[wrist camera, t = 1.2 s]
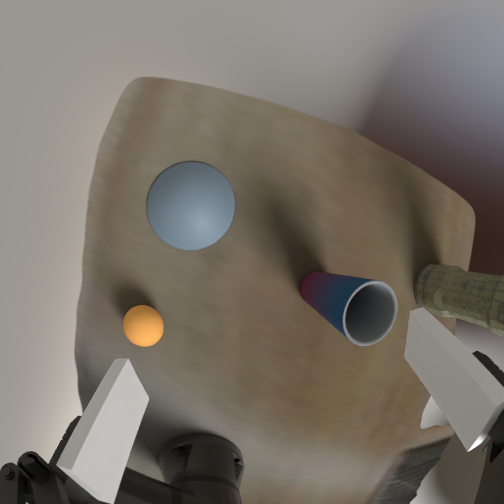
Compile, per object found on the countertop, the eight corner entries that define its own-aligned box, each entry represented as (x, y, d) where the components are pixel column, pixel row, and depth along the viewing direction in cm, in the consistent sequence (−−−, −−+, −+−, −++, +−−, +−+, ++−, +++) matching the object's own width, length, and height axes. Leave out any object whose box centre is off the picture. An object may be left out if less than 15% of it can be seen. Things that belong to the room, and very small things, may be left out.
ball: (159, 343, 37) (153, 359, 31) (124, 328, 36) (113, 342, 30) (171, 309, 37) (166, 321, 31) (135, 294, 36) (124, 304, 30)
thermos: (448, 299, 45) (590, 338, 11) (408, 318, 44) (572, 382, 9) (446, 257, 45) (600, 275, 10) (406, 271, 43) (592, 307, 8)
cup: (343, 294, 41) (404, 320, 26) (306, 319, 40) (356, 358, 25) (325, 256, 40) (385, 267, 25) (286, 280, 39) (332, 305, 24)
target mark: (214, 263, 37) (214, 263, 37) (134, 230, 35) (133, 230, 35) (248, 182, 38) (248, 181, 37) (169, 150, 35) (169, 149, 35)
